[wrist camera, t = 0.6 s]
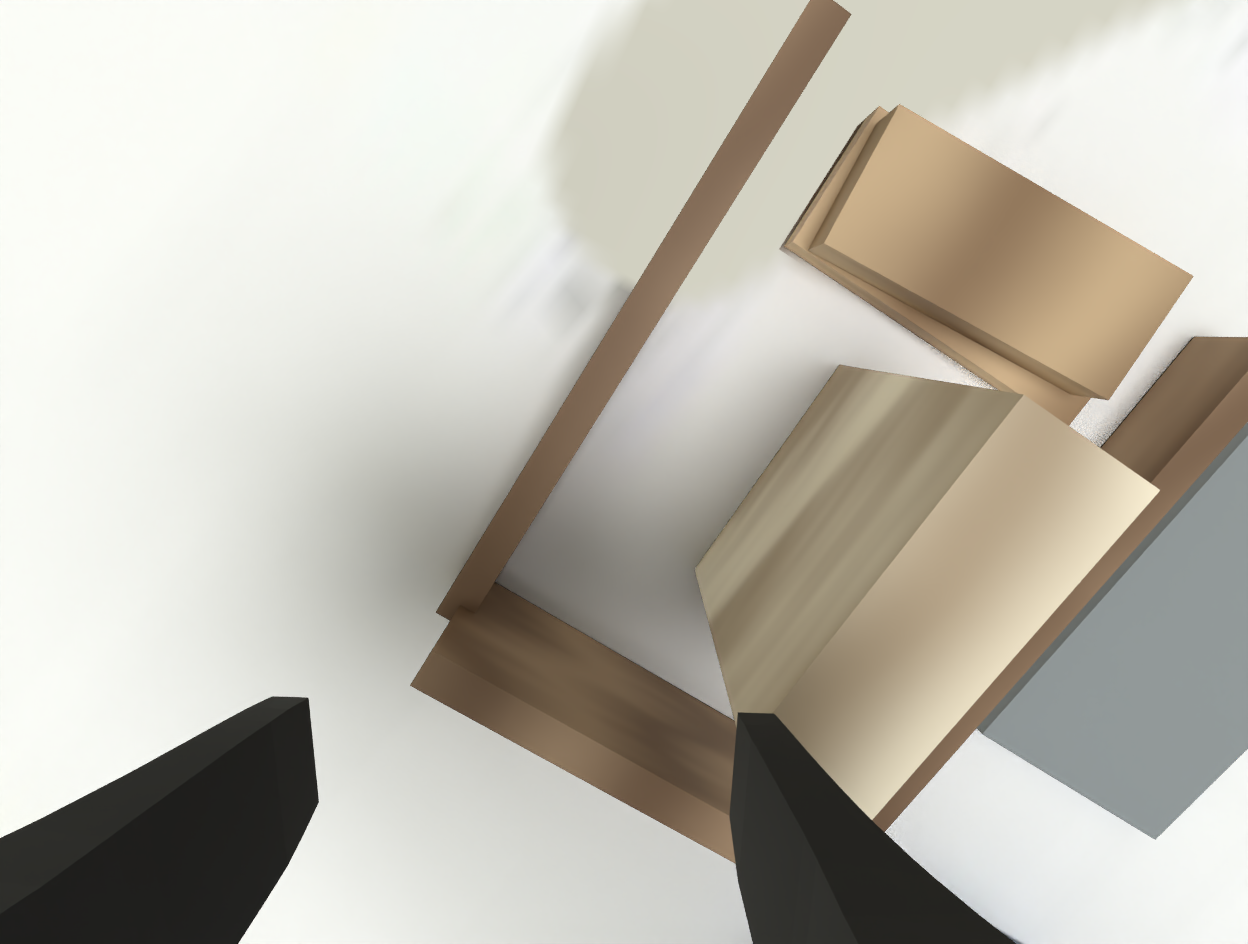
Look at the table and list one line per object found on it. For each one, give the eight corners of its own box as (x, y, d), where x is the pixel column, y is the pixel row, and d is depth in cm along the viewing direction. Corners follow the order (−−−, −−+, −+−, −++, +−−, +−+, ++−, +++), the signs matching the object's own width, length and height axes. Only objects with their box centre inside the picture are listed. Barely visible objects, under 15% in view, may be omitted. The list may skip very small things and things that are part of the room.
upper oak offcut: (1148, 280, 17) (1193, 276, 16) (1071, 394, 18) (1108, 399, 16) (876, 123, 16) (899, 104, 15) (807, 250, 17) (823, 243, 16)
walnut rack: (1218, 354, 18) (1430, 363, 13) (829, 811, 22) (885, 945, 17) (791, 36, 17) (857, -87, 12) (449, 593, 20) (392, 676, 16)
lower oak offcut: (1117, 310, 19) (1161, 308, 17) (1032, 419, 20) (1067, 427, 18) (857, 125, 18) (879, 105, 16) (779, 249, 18) (792, 241, 17)
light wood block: (915, 416, 19) (1160, 490, 10) (767, 613, 21) (869, 824, 12) (839, 364, 19) (1023, 394, 10) (694, 568, 20) (742, 751, 11)
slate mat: (1422, 545, 20) (1447, 552, 19) (1141, 826, 22) (1155, 839, 22) (1244, 414, 19) (1263, 417, 18) (972, 723, 21) (982, 733, 21)
